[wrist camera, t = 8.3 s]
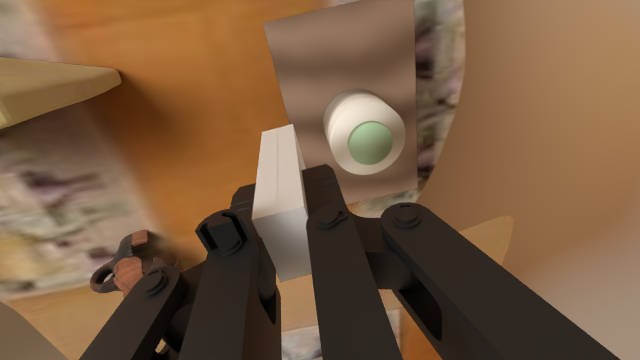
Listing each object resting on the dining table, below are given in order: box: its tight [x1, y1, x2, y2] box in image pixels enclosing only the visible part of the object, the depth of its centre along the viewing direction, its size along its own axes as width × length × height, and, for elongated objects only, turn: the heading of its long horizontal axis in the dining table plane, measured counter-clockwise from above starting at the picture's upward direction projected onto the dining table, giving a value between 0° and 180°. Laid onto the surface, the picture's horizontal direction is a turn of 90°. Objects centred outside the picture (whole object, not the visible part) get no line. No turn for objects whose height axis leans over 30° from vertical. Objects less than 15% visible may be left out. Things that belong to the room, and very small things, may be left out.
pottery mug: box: [90, 230, 183, 298], centre depth 43 cm, size 12×10×8 cm
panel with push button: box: [263, 0, 418, 204], centre depth 29 cm, size 22×14×8 cm, turn 11°
